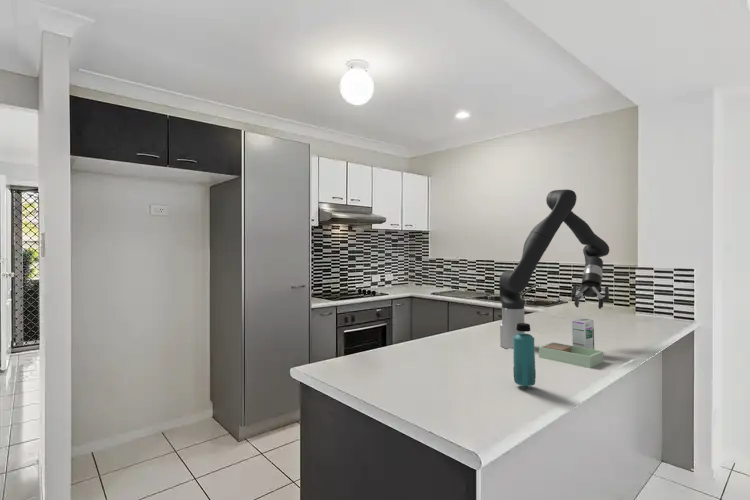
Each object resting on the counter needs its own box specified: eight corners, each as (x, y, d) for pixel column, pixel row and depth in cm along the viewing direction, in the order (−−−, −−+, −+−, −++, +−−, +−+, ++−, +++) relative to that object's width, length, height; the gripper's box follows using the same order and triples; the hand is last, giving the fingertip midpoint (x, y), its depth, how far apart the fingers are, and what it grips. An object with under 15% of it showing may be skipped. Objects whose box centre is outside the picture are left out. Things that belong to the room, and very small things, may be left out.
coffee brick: (543, 357, 160) (543, 346, 160) (553, 353, 165) (553, 343, 165) (561, 360, 154) (561, 350, 154) (571, 356, 160) (571, 346, 159)
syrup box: (585, 358, 159) (585, 321, 159) (572, 355, 164) (571, 319, 164) (594, 356, 162) (594, 319, 161) (580, 353, 167) (580, 317, 167)
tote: (538, 358, 160) (538, 347, 160) (553, 353, 167) (553, 342, 167) (590, 369, 145) (589, 356, 145) (603, 363, 152) (603, 351, 152)
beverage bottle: (539, 391, 125) (538, 325, 124) (517, 391, 125) (516, 325, 125) (531, 383, 131) (530, 321, 131) (510, 384, 131) (509, 321, 131)
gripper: (573, 271, 183) (568, 300, 174) (609, 272, 174) (606, 302, 165) (575, 282, 187) (571, 311, 178) (611, 283, 179) (608, 313, 170)
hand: (588, 306), depth 172 cm, fingers open, 8 cm apart
